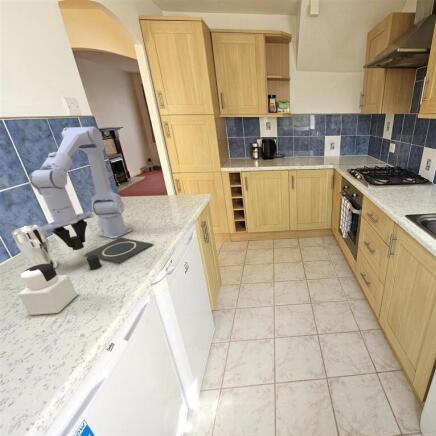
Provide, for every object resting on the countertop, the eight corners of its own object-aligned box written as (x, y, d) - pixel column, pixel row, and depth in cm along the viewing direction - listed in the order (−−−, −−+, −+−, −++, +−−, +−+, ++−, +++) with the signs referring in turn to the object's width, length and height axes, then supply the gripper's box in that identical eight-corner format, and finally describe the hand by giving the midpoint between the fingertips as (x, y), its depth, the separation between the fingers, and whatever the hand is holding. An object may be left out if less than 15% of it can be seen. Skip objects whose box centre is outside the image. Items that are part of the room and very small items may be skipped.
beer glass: (64, 264, 85) (46, 225, 79) (39, 276, 79) (18, 235, 73) (51, 261, 87) (32, 223, 81) (26, 272, 81) (4, 232, 75)
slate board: (85, 255, 90) (84, 253, 90) (120, 238, 102) (120, 237, 102) (119, 264, 84) (118, 262, 84) (152, 245, 96) (152, 243, 96)
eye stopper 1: (70, 249, 82) (66, 239, 81) (80, 245, 85) (76, 235, 83) (76, 250, 81) (72, 240, 80) (86, 246, 84) (81, 236, 82)
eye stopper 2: (88, 269, 82) (84, 258, 80) (97, 264, 85) (93, 254, 83) (94, 270, 81) (90, 260, 79) (103, 265, 84) (99, 255, 82)
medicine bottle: (52, 296, 69) (33, 261, 65) (78, 294, 70) (61, 259, 65) (29, 315, 63) (7, 277, 58) (58, 313, 63) (38, 275, 59)
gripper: (40, 217, 70) (59, 257, 75) (93, 201, 82) (106, 236, 87) (26, 214, 72) (45, 253, 77) (79, 199, 84) (93, 233, 90)
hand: (76, 244), depth 83 cm, fingers closed on eye stopper 1, 3 cm apart
